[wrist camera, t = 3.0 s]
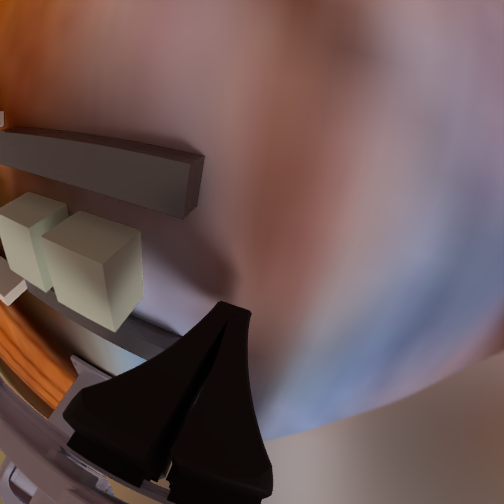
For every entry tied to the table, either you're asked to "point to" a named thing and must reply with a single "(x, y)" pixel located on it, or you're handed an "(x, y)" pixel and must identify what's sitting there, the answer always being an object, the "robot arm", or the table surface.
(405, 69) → the table surface
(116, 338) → the channel
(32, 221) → the chip
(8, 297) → the white u-shaped bracket
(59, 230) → the white small block
